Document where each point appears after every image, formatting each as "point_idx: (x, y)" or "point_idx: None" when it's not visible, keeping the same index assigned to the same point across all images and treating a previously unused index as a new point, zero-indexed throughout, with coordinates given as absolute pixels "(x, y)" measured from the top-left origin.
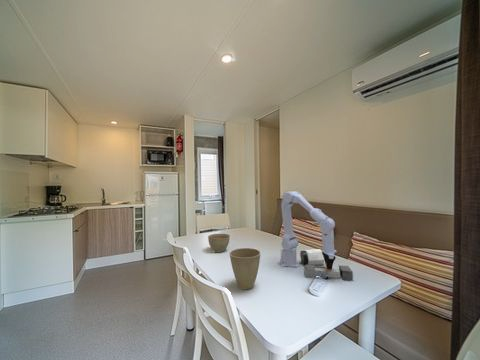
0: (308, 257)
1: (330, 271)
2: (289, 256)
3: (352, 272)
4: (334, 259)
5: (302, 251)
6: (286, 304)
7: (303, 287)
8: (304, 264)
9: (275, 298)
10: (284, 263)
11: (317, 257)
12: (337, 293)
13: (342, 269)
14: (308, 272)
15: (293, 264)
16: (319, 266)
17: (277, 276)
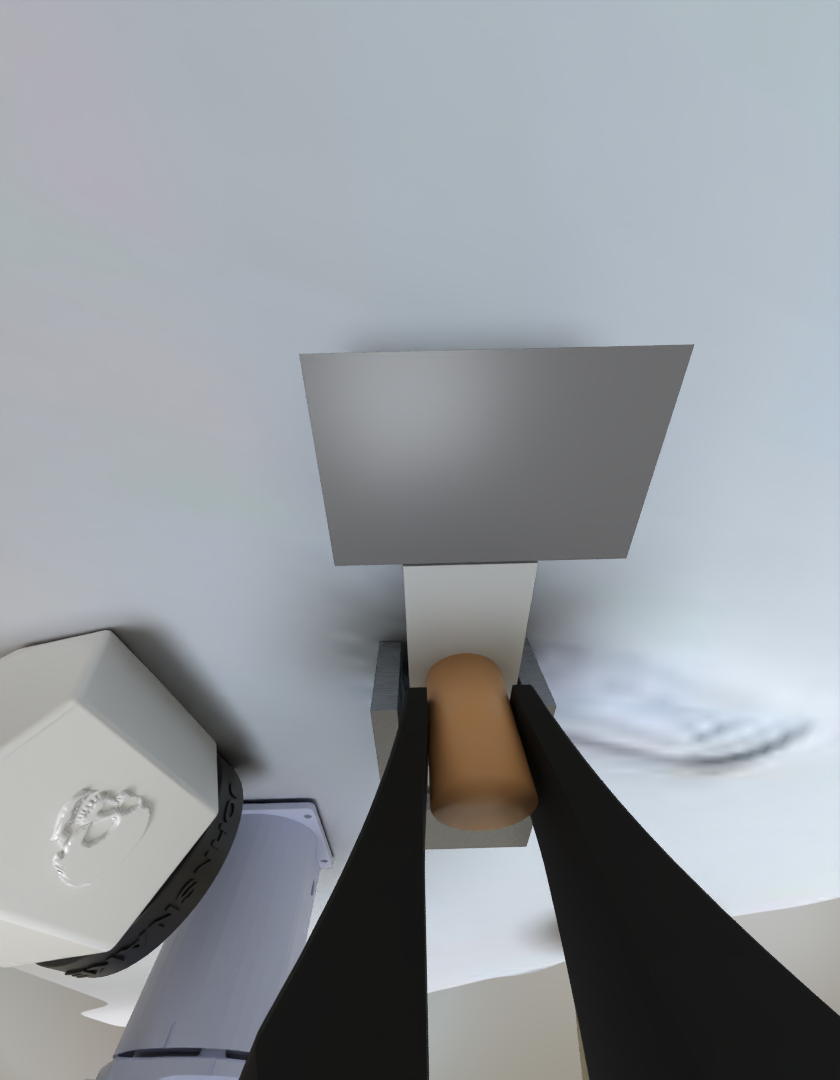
0: (183, 856)
1: (515, 670)
2: (291, 962)
3: (675, 348)
4: (788, 976)
5: (108, 973)
6: (823, 829)
7: (662, 779)
8: (236, 773)
9: (750, 856)
10: (314, 874)
11: (110, 794)
12: (827, 610)
13: (552, 546)
14: None
15: (303, 838)
16: (384, 755)
17: (499, 862)
